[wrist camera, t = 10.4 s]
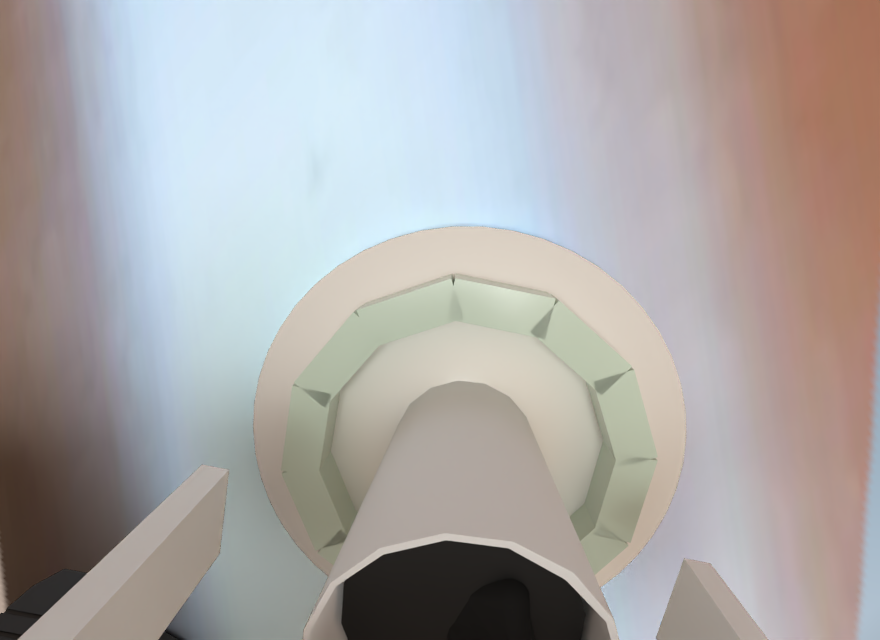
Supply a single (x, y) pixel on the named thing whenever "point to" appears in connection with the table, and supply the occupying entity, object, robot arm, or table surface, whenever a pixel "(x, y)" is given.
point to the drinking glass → (462, 536)
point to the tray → (472, 360)
